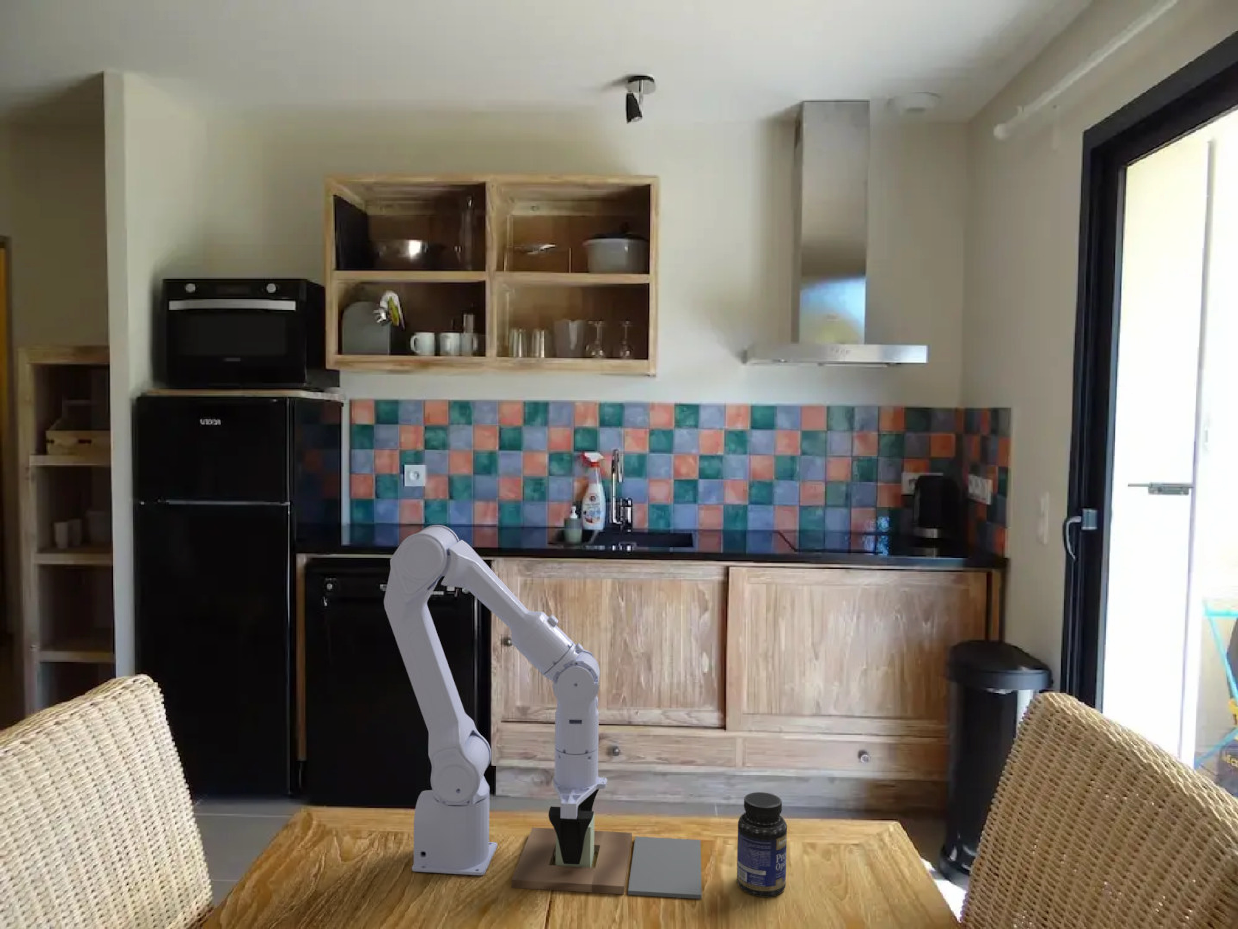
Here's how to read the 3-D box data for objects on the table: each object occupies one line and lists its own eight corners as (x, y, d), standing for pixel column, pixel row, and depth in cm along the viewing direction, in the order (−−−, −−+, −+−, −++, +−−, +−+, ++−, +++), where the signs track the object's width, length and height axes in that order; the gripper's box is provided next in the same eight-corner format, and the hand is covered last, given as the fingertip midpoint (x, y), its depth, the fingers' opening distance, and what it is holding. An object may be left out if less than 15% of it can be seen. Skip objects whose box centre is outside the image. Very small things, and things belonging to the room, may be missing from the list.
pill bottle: (785, 901, 105) (787, 813, 105) (734, 895, 106) (736, 807, 106) (785, 876, 111) (788, 791, 111) (738, 870, 113) (740, 787, 112)
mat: (628, 894, 106) (628, 890, 106) (635, 840, 120) (635, 836, 120) (701, 899, 106) (701, 895, 106) (700, 843, 119) (700, 840, 119)
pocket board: (511, 887, 107) (511, 879, 107) (532, 834, 121) (532, 827, 121) (623, 894, 106) (624, 886, 106) (631, 840, 120) (631, 832, 120)
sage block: (555, 870, 112) (555, 825, 112) (560, 853, 116) (561, 810, 116) (590, 872, 111) (590, 827, 111) (594, 855, 116) (594, 811, 116)
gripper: (601, 770, 106) (600, 878, 106) (612, 728, 120) (611, 824, 121) (544, 767, 106) (543, 875, 107) (561, 726, 121) (561, 821, 121)
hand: (575, 848), depth 114 cm, fingers open, 7 cm apart
